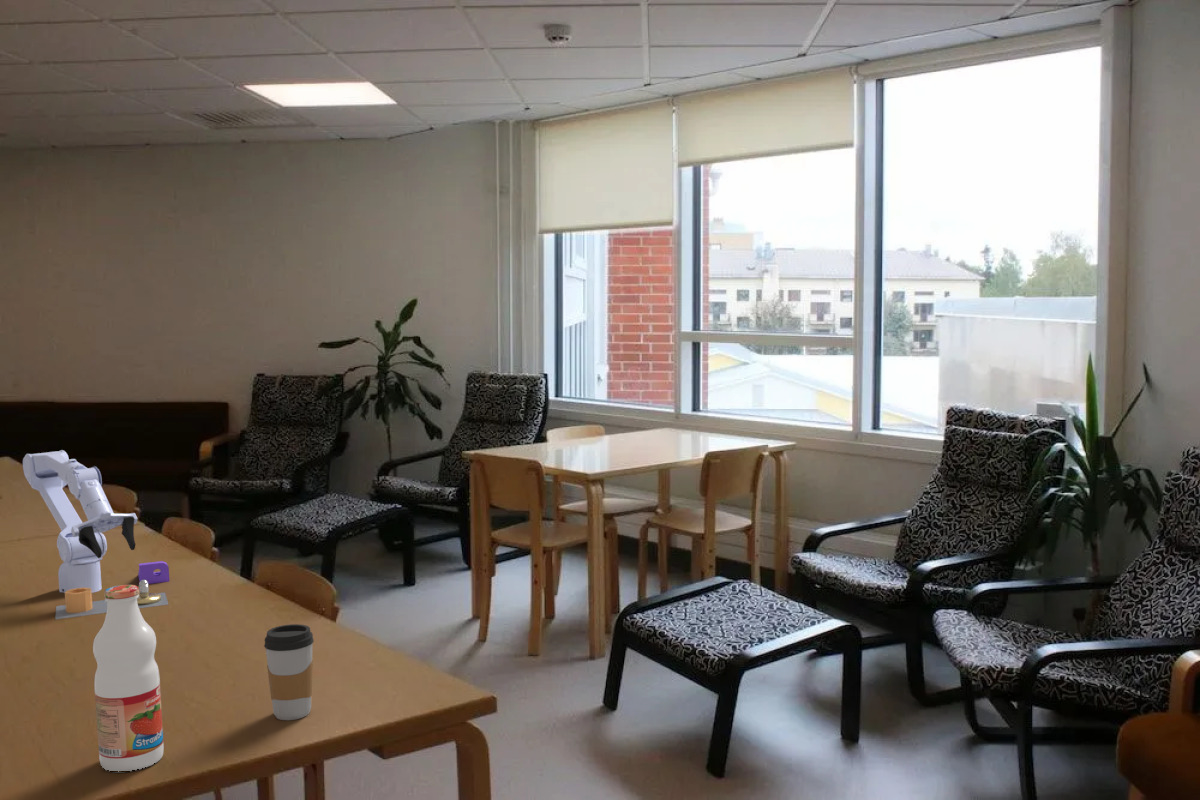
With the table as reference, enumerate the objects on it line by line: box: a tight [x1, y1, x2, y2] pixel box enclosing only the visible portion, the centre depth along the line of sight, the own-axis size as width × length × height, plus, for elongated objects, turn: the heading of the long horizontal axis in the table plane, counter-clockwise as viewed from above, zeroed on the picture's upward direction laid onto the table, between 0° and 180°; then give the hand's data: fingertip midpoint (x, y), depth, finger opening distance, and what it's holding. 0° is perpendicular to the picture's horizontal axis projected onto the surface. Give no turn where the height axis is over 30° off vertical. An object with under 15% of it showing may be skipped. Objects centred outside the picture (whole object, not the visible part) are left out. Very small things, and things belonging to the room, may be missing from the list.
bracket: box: [137, 560, 170, 585], centre depth 279 cm, size 12×7×7 cm, turn 26°
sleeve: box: [64, 588, 93, 613], centre depth 251 cm, size 5×5×4 cm
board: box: [55, 592, 169, 620], centre depth 254 cm, size 24×12×5 cm, turn 116°
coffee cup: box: [263, 623, 314, 721], centre depth 187 cm, size 8×8×15 cm
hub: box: [137, 580, 161, 605], centre depth 257 cm, size 7×7×5 cm
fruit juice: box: [92, 584, 165, 773], centre depth 169 cm, size 9×9×28 cm
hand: (116, 551), depth 252 cm, fingers open, 7 cm apart
